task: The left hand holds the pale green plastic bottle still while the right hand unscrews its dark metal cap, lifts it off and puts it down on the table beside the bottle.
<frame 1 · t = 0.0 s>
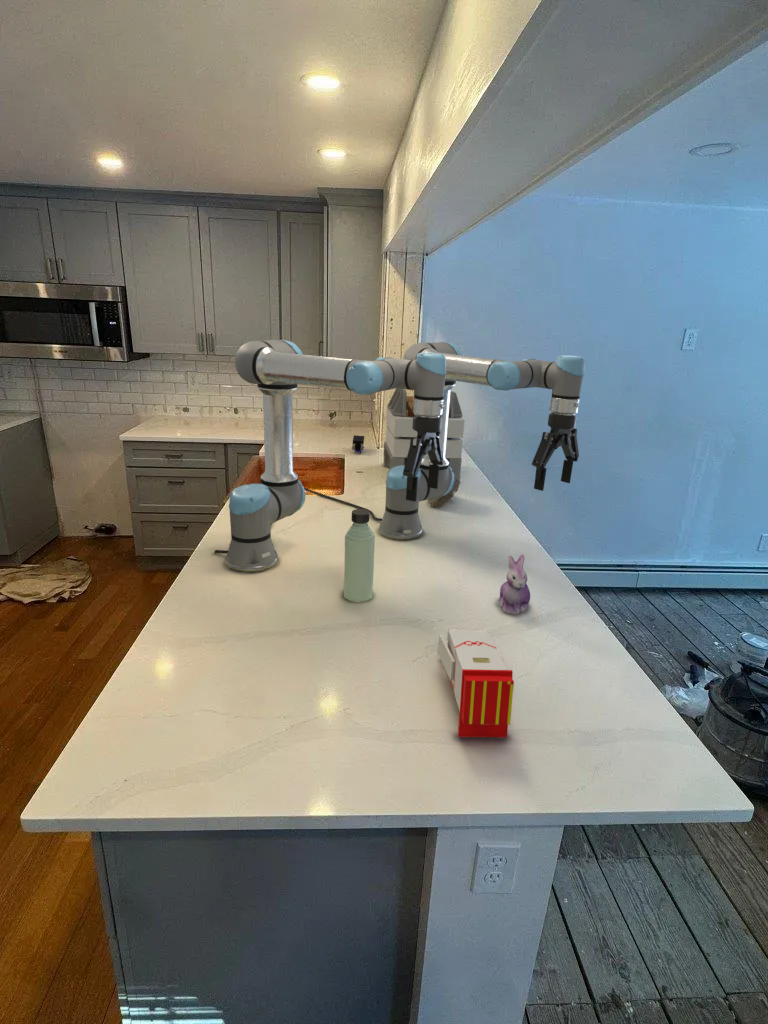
left hand: (422, 493, 153), 28 cm above the counter, tool pointing down, fingers open, 13 cm apart
right hand: (552, 485, 166), 28 cm above the counter, tool pointing down, fingers open, 13 cm apart
figurine character: (358, 451, 311), on the counter
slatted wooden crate: (419, 473, 275), on the counter
bottle: (358, 594, 156), on the counter
toy: (469, 691, 119), on the counter
cap: (360, 512, 148), point 24 cm above the counter, screwed on, not yet turned
fossil: (442, 501, 236), on the counter
figurine: (513, 607, 154), on the counter
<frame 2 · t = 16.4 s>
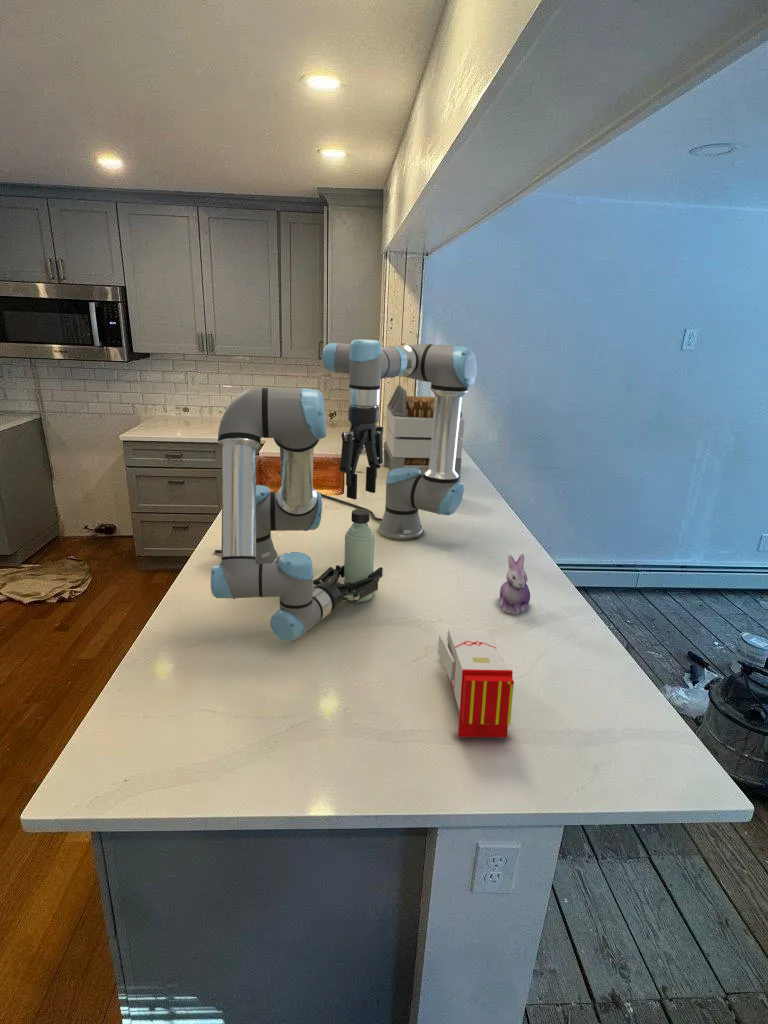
left hand: (367, 568, 158), 6 cm above the counter, tool horizontal, fingers closed on bottle, 8 cm apart
right hand: (361, 494, 146), 29 cm above the counter, tool pointing down, fingers open, 7 cm apart
bottle: (358, 594, 156), on the counter, touching left hand
everything else where it was.
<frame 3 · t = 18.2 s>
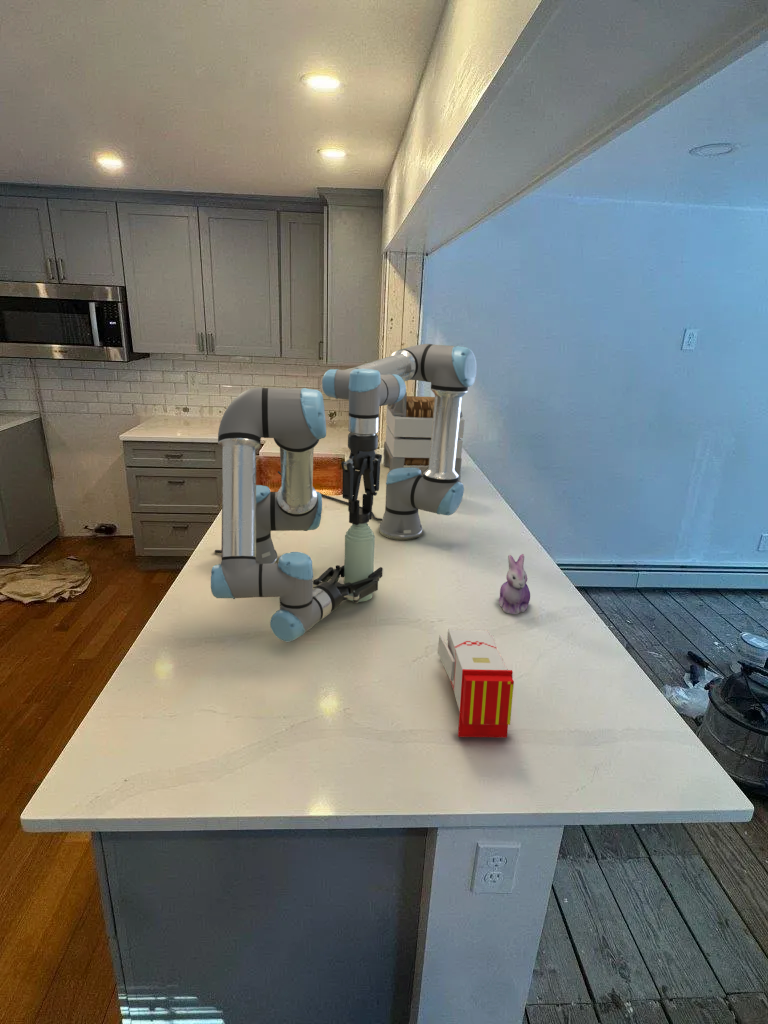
left hand: (367, 568, 158), 6 cm above the counter, tool horizontal, fingers closed on bottle, 8 cm apart
right hand: (360, 520, 149), 22 cm above the counter, tool pointing down, fingers closed on cap, 4 cm apart
bottle: (358, 594, 156), on the counter, touching left hand
cap: (360, 512, 148), point 24 cm above the counter, screwed on, not yet turned, touching right hand
everything else where it was.
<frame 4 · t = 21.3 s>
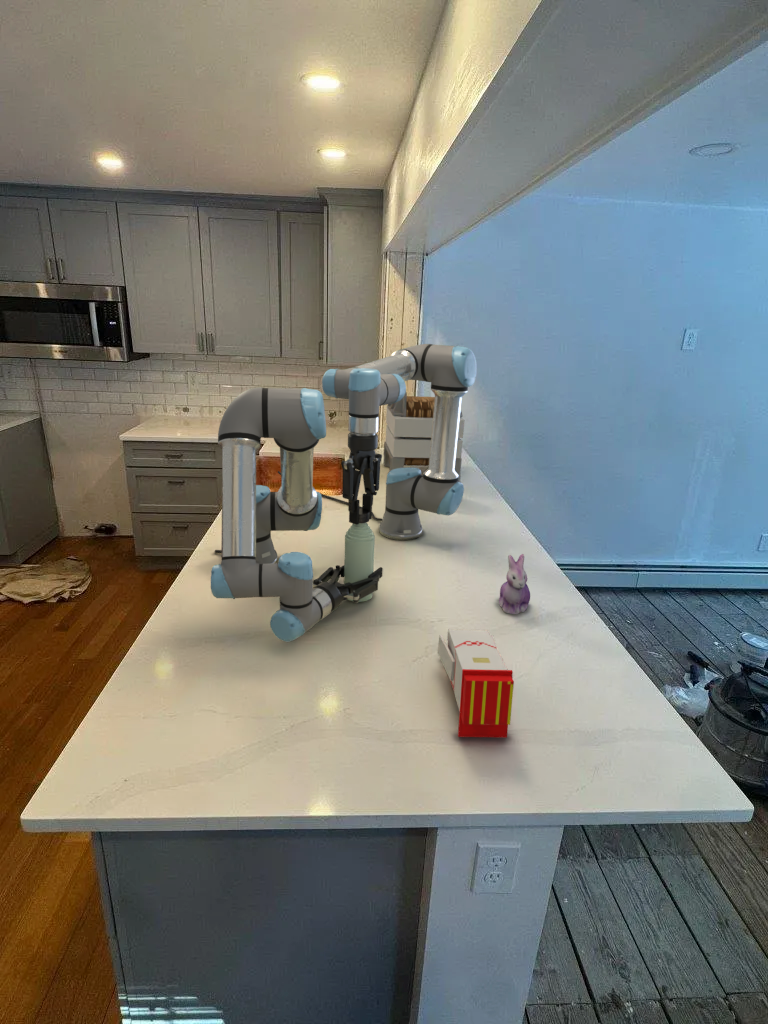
left hand: (367, 568, 158), 6 cm above the counter, tool horizontal, fingers closed on bottle, 8 cm apart
right hand: (360, 520, 149), 22 cm above the counter, tool pointing down, fingers closed on cap, 4 cm apart
bottle: (358, 594, 156), on the counter, touching left hand
cap: (360, 512, 148), point 24 cm above the counter, turned 89° so far, risen 0.1 cm, still on its thread, touching right hand
everything else where it was.
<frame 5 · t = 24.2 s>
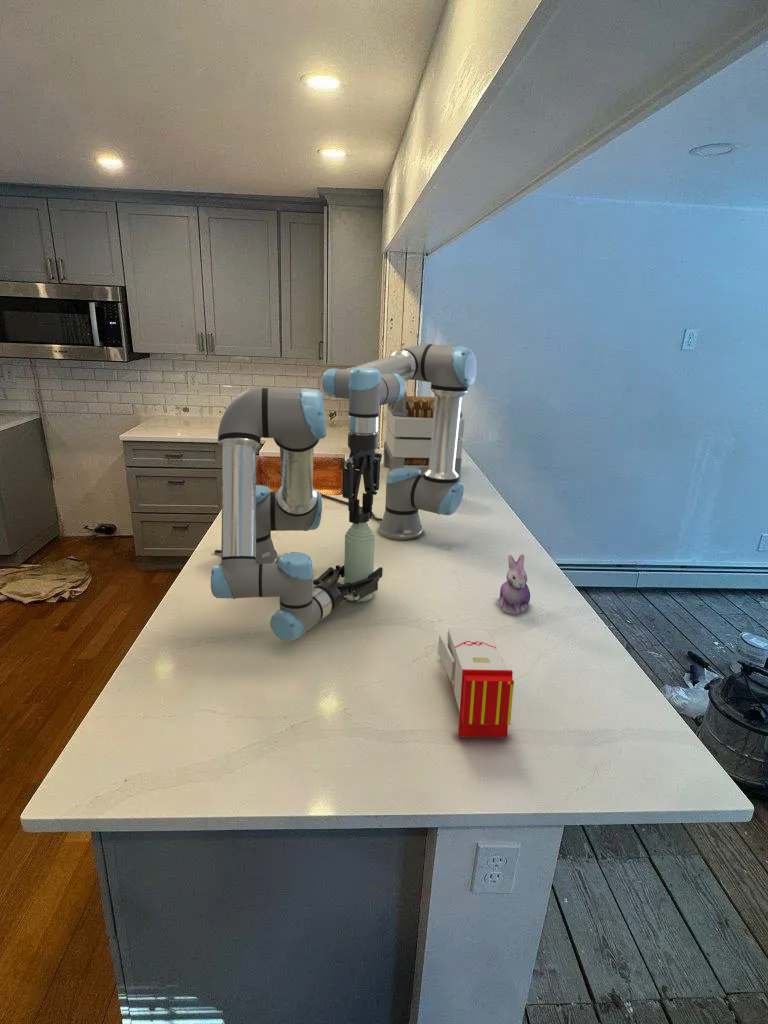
left hand: (367, 568, 158), 6 cm above the counter, tool horizontal, fingers closed on bottle, 8 cm apart
right hand: (360, 519, 149), 22 cm above the counter, tool pointing down, fingers closed on cap, 4 cm apart
bottle: (358, 594, 156), on the counter, touching left hand
cap: (360, 512, 148), point 24 cm above the counter, turned 178° so far, risen 0.2 cm, still on its thread, touching right hand
everything else where it was.
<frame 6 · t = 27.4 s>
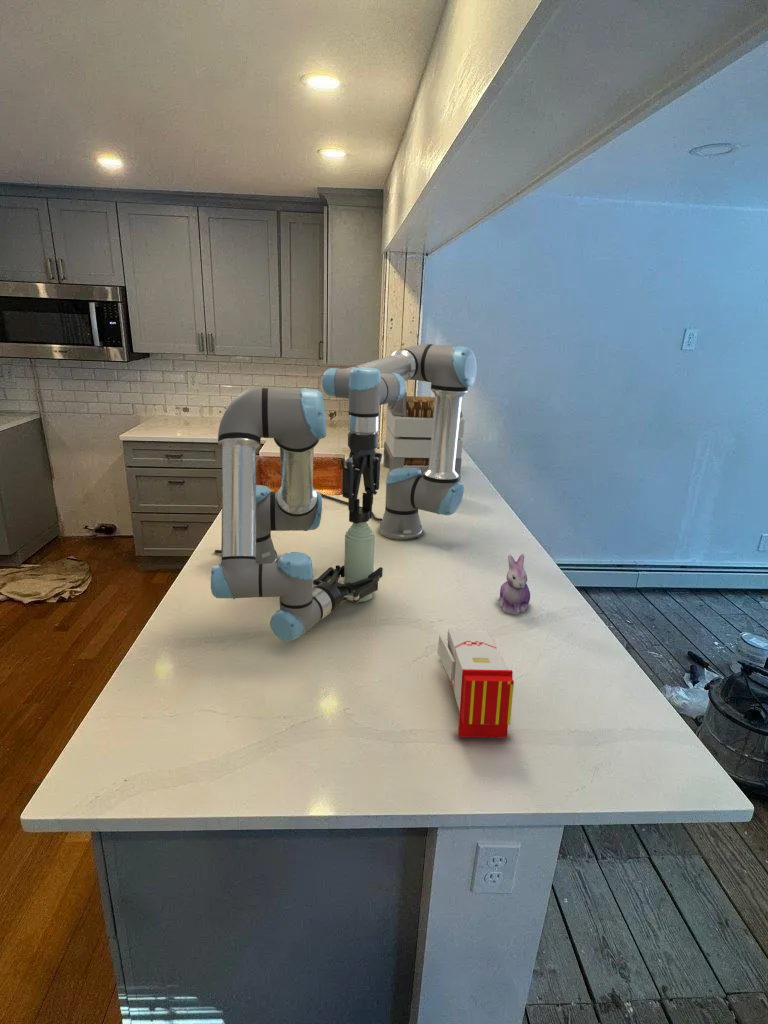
left hand: (367, 568, 158), 6 cm above the counter, tool horizontal, fingers closed on bottle, 8 cm apart
right hand: (360, 519, 149), 22 cm above the counter, tool pointing down, fingers closed on cap, 4 cm apart
bottle: (358, 594, 156), on the counter, touching left hand
cap: (360, 511, 148), point 24 cm above the counter, turned 267° so far, risen 0.3 cm, still on its thread, touching right hand
everything else where it was.
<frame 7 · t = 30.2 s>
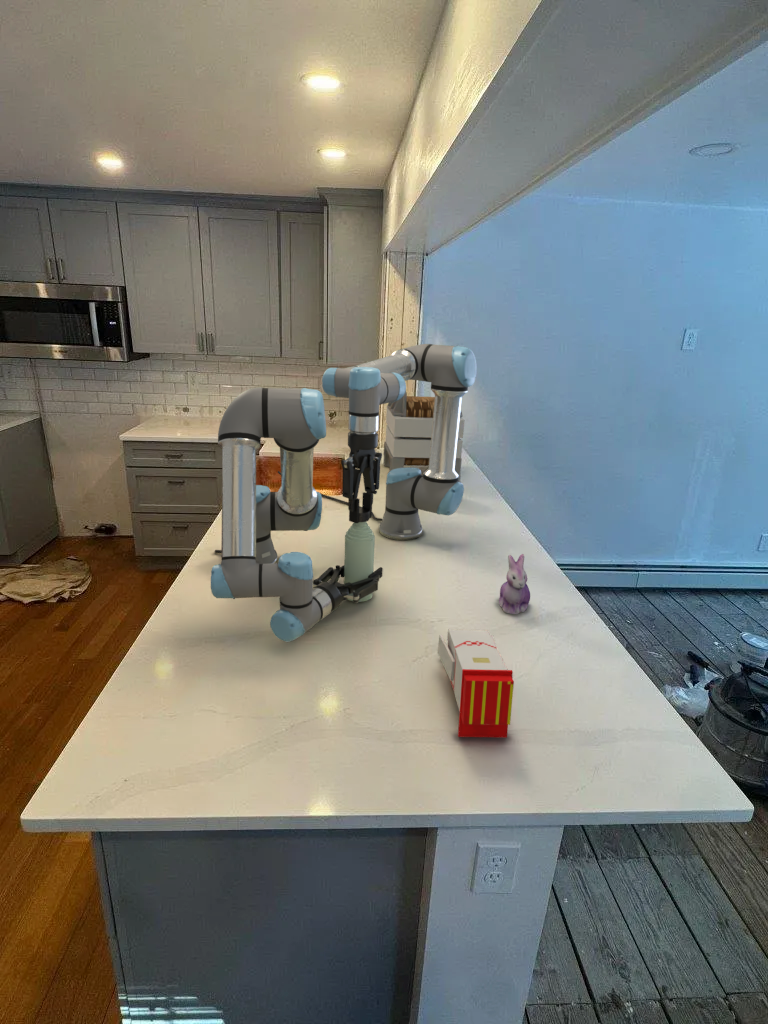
left hand: (367, 568, 158), 6 cm above the counter, tool horizontal, fingers closed on bottle, 8 cm apart
right hand: (360, 519, 149), 22 cm above the counter, tool pointing down, fingers closed on cap, 4 cm apart
bottle: (358, 594, 156), on the counter, touching left hand
cap: (360, 511, 148), point 25 cm above the counter, turned 356° so far, risen 0.4 cm, still on its thread, touching right hand
everything else where it was.
when the right hand's fingers open (1 cm above the counter, at t = 40.2 s): cap stays where it is, point 2 cm above the counter.
when the left hand's fingers open (6 cm above the counter, at t = 41.5 s): bottle stays where it is, on the counter.
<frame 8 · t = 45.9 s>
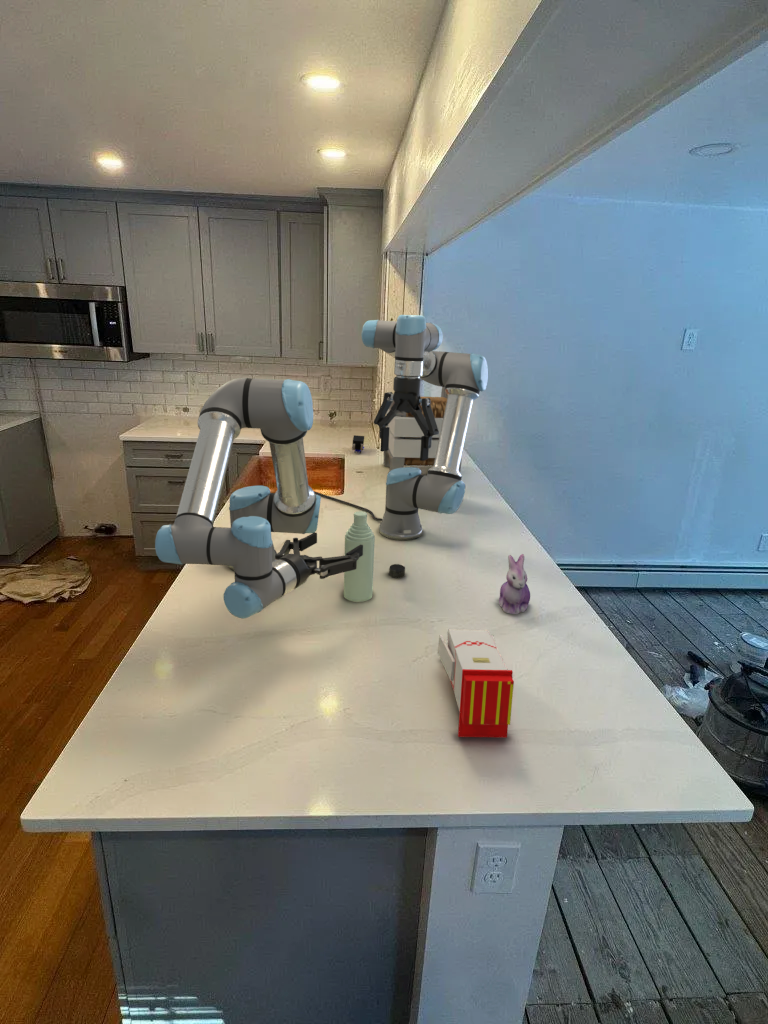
left hand: (338, 543, 141), 19 cm above the counter, tool horizontal, fingers open, 13 cm apart
right hand: (403, 455, 157), 37 cm above the counter, tool pointing down, fingers open, 13 cm apart
bottle: (358, 595, 156), on the counter
cap: (397, 568, 168), point 2 cm above the counter, off its thread
everything else where it was.
at the end: cap came off its thread; cap point 2.2 cm above the counter; the left hand is holding nothing; the right hand is holding nothing; bottle tilted 0°; bottle moved 0.0 cm from its start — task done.
